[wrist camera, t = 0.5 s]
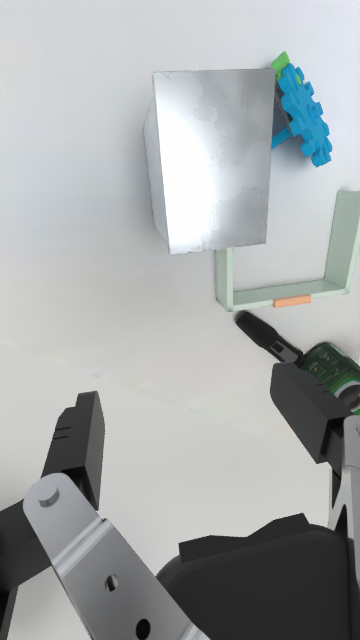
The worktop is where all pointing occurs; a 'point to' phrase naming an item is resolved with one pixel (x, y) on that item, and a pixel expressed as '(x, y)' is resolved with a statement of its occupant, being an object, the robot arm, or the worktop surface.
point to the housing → (210, 157)
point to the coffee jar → (336, 374)
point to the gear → (300, 112)
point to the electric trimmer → (269, 339)
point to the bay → (347, 234)
